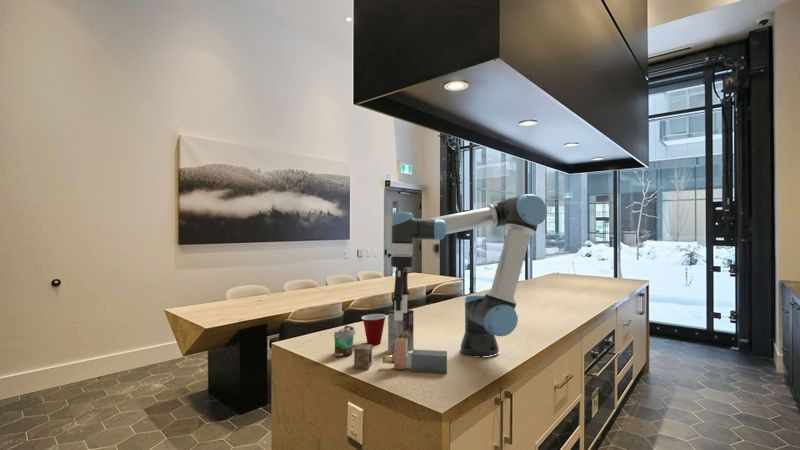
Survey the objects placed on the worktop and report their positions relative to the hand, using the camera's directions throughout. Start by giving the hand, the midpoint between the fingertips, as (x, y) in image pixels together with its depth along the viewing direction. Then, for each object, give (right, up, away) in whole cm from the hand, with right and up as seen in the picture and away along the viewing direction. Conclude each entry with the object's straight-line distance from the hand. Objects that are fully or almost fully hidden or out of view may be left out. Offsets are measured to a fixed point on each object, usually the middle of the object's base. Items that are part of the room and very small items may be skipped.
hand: (400, 316), depth 134 cm
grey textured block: (-13, -18, +1) cm, 23 cm away
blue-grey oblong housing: (+10, -18, -2) cm, 21 cm away
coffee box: (0, -19, +22) cm, 30 cm away
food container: (-21, -19, +15) cm, 32 cm away
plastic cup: (-12, -20, +32) cm, 39 cm away
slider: (+5, -17, -1) cm, 18 cm away
